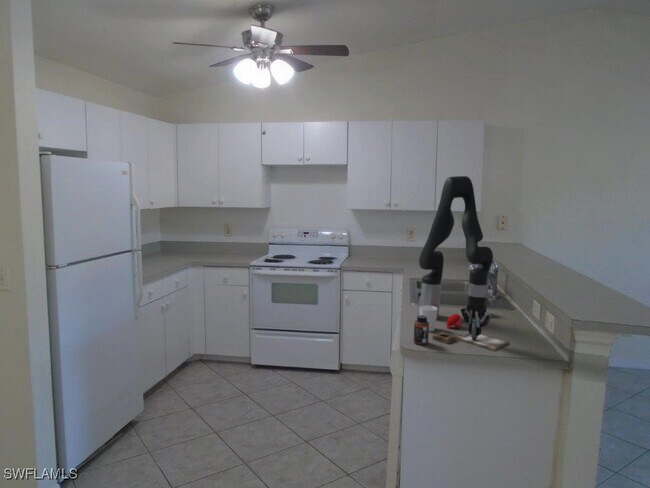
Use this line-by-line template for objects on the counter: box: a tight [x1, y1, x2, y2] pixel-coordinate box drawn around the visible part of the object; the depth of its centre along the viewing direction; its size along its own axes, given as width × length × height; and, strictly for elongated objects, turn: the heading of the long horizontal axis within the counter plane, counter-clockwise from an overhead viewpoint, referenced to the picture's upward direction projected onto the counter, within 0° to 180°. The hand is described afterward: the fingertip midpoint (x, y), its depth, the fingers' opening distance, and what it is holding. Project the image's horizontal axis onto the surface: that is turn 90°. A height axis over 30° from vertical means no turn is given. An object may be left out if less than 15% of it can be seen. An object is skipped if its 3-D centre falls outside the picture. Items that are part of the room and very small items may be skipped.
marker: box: [471, 318, 478, 340], centre depth 185 cm, size 3×3×9 cm
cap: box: [445, 313, 463, 329], centre depth 204 cm, size 8×6×6 cm
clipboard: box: [456, 331, 510, 352], centre depth 186 cm, size 18×13×1 cm
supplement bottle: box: [413, 314, 430, 346], centre depth 182 cm, size 6×6×11 cm
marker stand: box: [432, 331, 457, 345], centre depth 187 cm, size 7×7×2 cm
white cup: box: [420, 306, 438, 332], centre depth 200 cm, size 8×8×10 cm
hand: (474, 334), depth 185 cm, fingers closed on marker, 2 cm apart
